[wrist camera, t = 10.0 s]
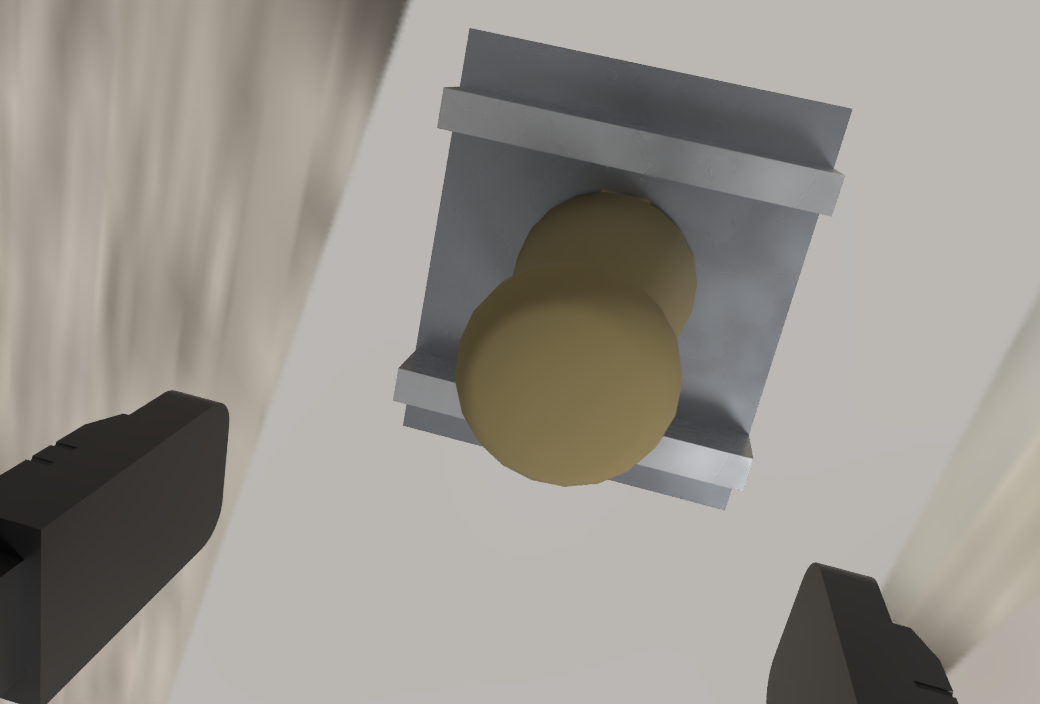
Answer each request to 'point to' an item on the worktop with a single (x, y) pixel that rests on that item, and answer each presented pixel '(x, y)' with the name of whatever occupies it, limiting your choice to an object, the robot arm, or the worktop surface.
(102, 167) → the worktop surface
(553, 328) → the cork
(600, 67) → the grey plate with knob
